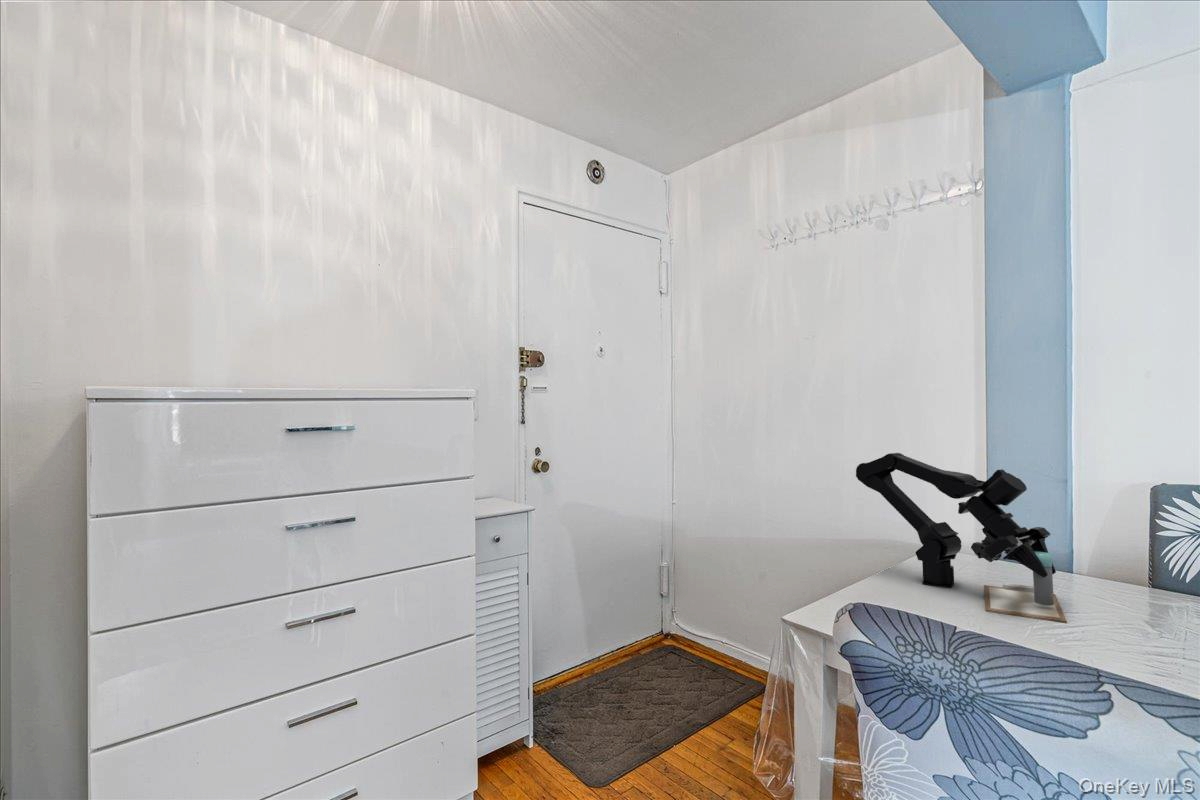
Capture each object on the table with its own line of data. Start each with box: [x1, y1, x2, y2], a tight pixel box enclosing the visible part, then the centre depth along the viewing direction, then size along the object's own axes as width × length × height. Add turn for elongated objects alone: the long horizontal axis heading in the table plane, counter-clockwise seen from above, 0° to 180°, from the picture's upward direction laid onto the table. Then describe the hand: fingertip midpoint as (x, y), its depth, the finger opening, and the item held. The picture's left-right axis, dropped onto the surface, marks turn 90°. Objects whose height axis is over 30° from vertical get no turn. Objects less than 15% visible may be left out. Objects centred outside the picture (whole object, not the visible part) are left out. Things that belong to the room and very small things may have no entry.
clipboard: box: [983, 582, 1068, 624], centre depth 127 cm, size 14×20×2 cm
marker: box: [1032, 552, 1054, 606], centre depth 122 cm, size 4×4×11 cm
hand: (1050, 575), depth 121 cm, fingers closed on marker, 3 cm apart
